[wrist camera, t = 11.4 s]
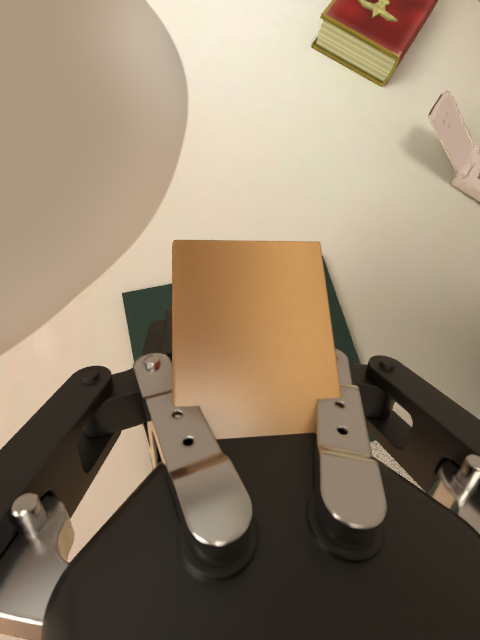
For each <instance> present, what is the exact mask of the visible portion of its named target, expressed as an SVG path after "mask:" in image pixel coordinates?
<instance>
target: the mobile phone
mask: <svg viewBox="0 0 480 640" xmlns="http://www.w3.org/2000/svg"><path fill="white" fill-rule="evenodd" d="M428 118H429V120H430V122H431V124H432V126H433V128H434V131H435V133H436V135H437V137H438V139H439V141H440V143H441V145H442V147H443V149H444V151H445V153H446V154H447V156H448V158H449V160H450V162H451V164H452V166H453V168H454V170H455V172H456V175H455V176H454V178H453V180H452V182H451V184H452V185H453V186H455V187H456V188H458V189H460V190H461V191H463V192H464V193H466V194H467V195H469V196H471V197H472V198H474V199H475V200H477V201H479V202H480V145H476V146H474V144H473V142H472V139H471V137H470V135H469V133H468V130H467V128H466V126H465V124H464V121H463V119H462V117H461V115H460V112H459V110H458V108H457V104H456V102H455V99H454V97H453V96H452V95H451V93H450V91H445V92H444V93H442V94H441V95H440V97H439V99H438V100H437V102H436V103H435V105H434V106H433V108H432V110H431V112H430V113H429V115H428Z"/></svg>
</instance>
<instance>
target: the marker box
mask: <svg viewBox="0 0 480 640" xmlns="http://www.w3.org/2000/svg"><path fill="white" fill-rule="evenodd" d="M340 397H341V389H340V382H339V375H338V368H337V360H336V353H335V346H334V339H333V331H332V324H331V317H330V310H329V303H328V295H327V288H326V281H325V274H324V266H323V259H322V252H321V245H320V242H303V241H221V240H174V241H173V246H172V404H173V406H175V407H181V406H199V407H200V409H201V411H202V413H203V415H204V417H205V419H206V421H207V423H208V425H209V426H210V428H211V430H212V432H213V434H214V436H215V438H216V439H228V438H242V437H256V436H271V435H285V434H300V433H314V422H315V412H316V402H317V399H325V398H340ZM336 407H338V408H341V407H340V406H338V405H336ZM179 417H181V416H180V415H176V416H175V417H174V418H179Z"/></svg>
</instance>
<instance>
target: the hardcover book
mask: <svg viewBox="0 0 480 640" xmlns="http://www.w3.org/2000/svg"><path fill="white" fill-rule="evenodd" d="M437 2H438V0H333V1H332V2H331V3H330V4H329V6H328V7H327V8H326V9H325V10H324V12H323V13H322V14H321V17H320V18H322V19H323V23H322V26H321V29H320V32H319V35H318V37H317V38H316V40H315V41H314V42H313V44H312V46H311V47H312V48H314V49H316V50H318V51H320V52H321V53H323V54H325V55H327V56H328V57H330V58H332V59H334V60H335V61H337V62H339V63H341V64H343V65H344V66H346V67H348V68H350V69H351V70H353V71H355V72H357V73H358V74H360V75H362V76H364V77H366V78H367V79H369V80H371V81H373V82H374V83H376V84H378V85H380V86H381V87H382V86H384V85H385V84H386V83H387V81H388V80H389V79H390V77H391V76H392V74H393V72H394V71H395V69H396V68H397V66H398V64H399V63H400V61H401V60H402V58H403V56H404V55H405V53H406V52H407V50H408V48H409V47H410V45H411V44H412V42H413V40H414V39H415V37H416V35H417V34H418V32H419V31H420V29H421V27H422V26H423V24H424V23H425V21H426V19H427V18H428V16H429V15H430V13H431V11H432V10H433V8H434V7H435V5H436V3H437Z"/></svg>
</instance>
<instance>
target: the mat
mask: <svg viewBox="0 0 480 640" xmlns="http://www.w3.org/2000/svg"><path fill="white" fill-rule="evenodd" d="M322 259H323V256H322ZM323 266H324V274H325V281H326V288H327V295H328V303H329V310H330V317H331V324H332V331H333V339H334V346H335V349H337V350H340V351H341V352H343V353H344V354H345V355H346V356H347V358H348V361H349V362H353V363H358V364H360V361H359V358H358V356H357V353H356V350H355V347H354V344H353V341H352V338H351V336H350V333H349V330H348V327H347V324H346V321H345V318H344V316H343V313H342V310H341V307H340V304H339V301H338V298H337V296H336V293H335V290H334V287H333V284H332V281H331V279H330V276H329V273H328V270H327V267H326V264H325V261H324V259H323ZM122 296H123V302H124V308H125V313H126V319H127V324H128V330H129V336H130V341H131V347H132V353H133V358H134V362H135V361H136V359H138V358H139V357H141V356H142V353H143V349H144V345H145V341H146V336H147V332H148V328H149V326H150V325H151V324H152V323H153V322H154V321H156V320H165V315H166V310H172V284H168V285H163V286H158V287H153V288H147V289H142V290H137V291H131V292H126V293H122ZM367 432H368V431H367ZM368 437H369V442H371V441H375V440H376V439H375V438H374V437H373V436H372V435H371V434H370V433H369V432H368ZM152 465H153V464H152ZM153 470H154V469H153Z"/></svg>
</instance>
